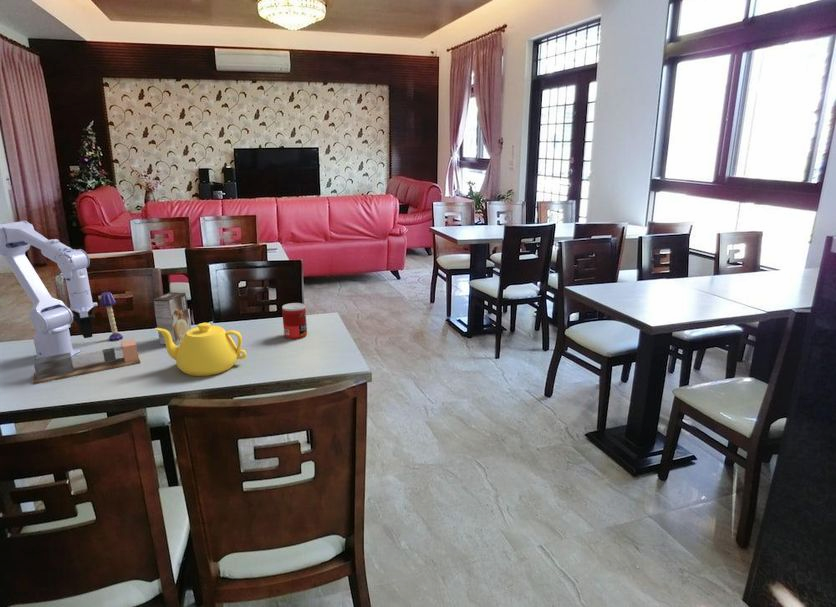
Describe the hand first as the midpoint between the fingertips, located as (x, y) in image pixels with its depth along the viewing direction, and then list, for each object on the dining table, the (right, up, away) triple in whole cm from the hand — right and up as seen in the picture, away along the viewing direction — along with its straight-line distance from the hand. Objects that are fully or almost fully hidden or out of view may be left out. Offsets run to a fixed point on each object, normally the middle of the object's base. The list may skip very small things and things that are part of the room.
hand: (87, 333), depth 166 cm
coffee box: (+18, -4, +21) cm, 28 cm away
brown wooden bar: (+2, -10, -2) cm, 11 cm away
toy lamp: (-4, -3, +22) cm, 23 cm away
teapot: (+36, -10, -1) cm, 38 cm away
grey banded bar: (+4, -8, -1) cm, 9 cm away
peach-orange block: (+11, -8, +4) cm, 14 cm away
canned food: (+58, -2, +25) cm, 63 cm away
